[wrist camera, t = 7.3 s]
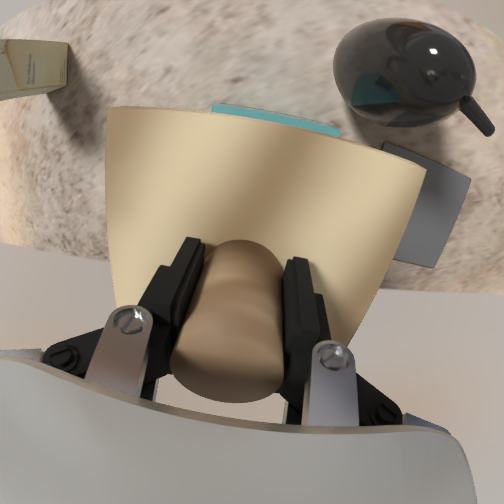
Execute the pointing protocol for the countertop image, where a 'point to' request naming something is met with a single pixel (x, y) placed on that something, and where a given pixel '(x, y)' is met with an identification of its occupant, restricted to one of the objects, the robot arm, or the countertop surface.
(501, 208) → the countertop surface
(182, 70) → the countertop surface
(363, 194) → the lid
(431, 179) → the mat
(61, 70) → the skincare box
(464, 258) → the countertop surface
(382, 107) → the pump dispenser
